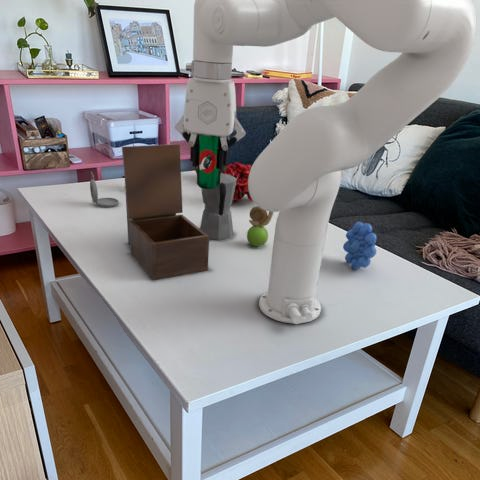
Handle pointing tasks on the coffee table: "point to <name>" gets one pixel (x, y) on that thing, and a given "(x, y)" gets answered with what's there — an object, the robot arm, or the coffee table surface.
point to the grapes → (360, 245)
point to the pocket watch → (102, 201)
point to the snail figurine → (258, 226)
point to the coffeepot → (218, 209)
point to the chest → (168, 246)
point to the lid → (152, 180)
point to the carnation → (238, 179)
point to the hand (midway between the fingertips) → (208, 165)
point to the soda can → (208, 161)
